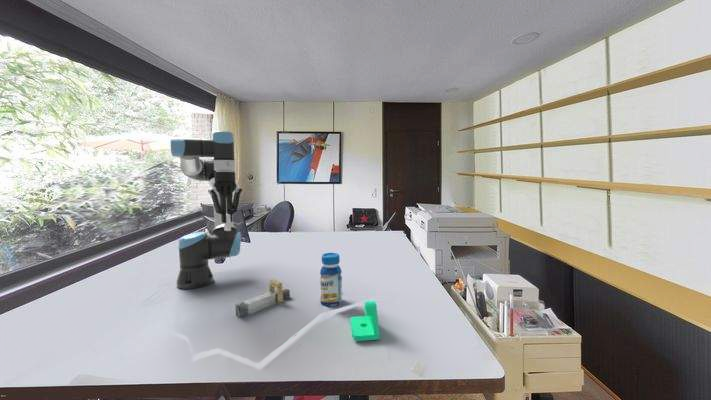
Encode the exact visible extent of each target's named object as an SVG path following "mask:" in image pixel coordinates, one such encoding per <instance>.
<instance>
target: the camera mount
mask: <svg viewBox="0 0 711 400" xmlns="http://www.w3.org/2000/svg"><path fill="white" fill-rule="evenodd" d="M363 307H364V315H360V316H359V315H358V316H357V315H356V316H351V317H350V322H349V323H350V326H351V327H350V328H351V334H352V335H351V336H352V338H353V340H354V341H357V342H359V341H374V340H380V329H379V318H378V309H377V301H376V300H367V301H366V300H365V301H364V305H363Z"/></svg>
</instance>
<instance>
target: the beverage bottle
mask: <svg viewBox="0 0 711 400" xmlns="http://www.w3.org/2000/svg"><path fill="white" fill-rule="evenodd" d="M321 264H322V266H321V268H320V272H319V274H320V277H319V283H320V305H322V306H323V307H326V308H335V307H337V308H335V310H336V309H337V310H338V306H340V305H341V304H342V303H343V301H342V298H343V297H342V295H343V293H342V292H343V290H342V284H343V278H342V277H343V276H342V273H343V272H342V269H341V266H340V265H339V264H340V254H339V253H337V252H326V253H323V254H322V255H321Z"/></svg>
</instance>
